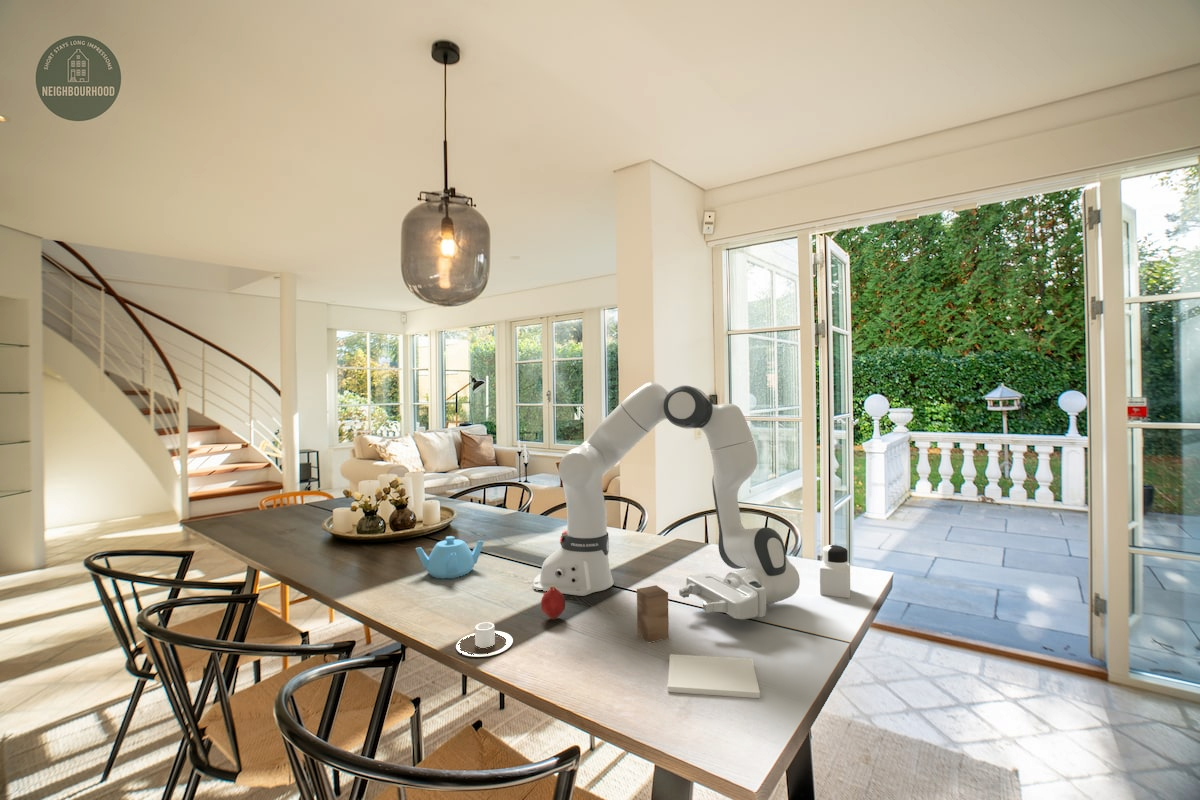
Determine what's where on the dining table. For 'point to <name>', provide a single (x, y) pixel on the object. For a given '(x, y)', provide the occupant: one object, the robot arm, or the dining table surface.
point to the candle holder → (486, 639)
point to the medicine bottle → (835, 572)
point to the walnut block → (652, 613)
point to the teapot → (450, 558)
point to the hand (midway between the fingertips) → (692, 600)
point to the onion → (553, 603)
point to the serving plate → (712, 676)
